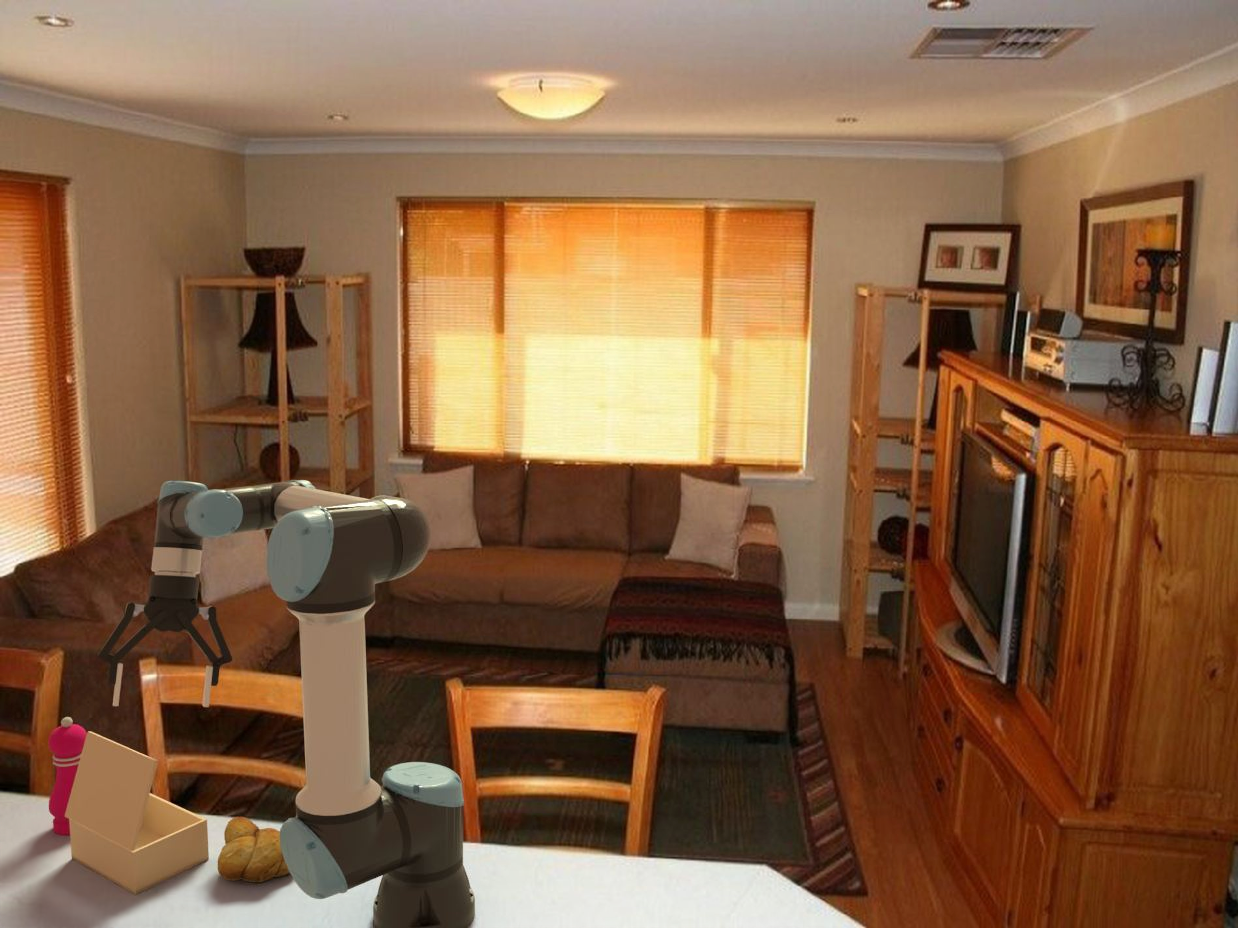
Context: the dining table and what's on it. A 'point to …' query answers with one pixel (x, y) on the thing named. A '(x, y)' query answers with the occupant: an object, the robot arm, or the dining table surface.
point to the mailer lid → (111, 790)
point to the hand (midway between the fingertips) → (161, 705)
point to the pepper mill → (64, 769)
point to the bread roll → (251, 852)
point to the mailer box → (145, 847)
